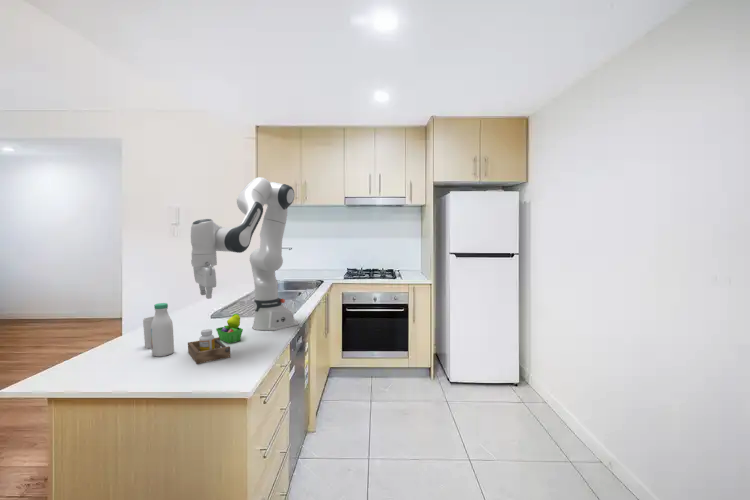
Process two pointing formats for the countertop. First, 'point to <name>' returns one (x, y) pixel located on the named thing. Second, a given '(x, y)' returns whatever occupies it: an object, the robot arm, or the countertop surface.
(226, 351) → the wooden bar rack
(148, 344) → the mug
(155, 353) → the milk bottle
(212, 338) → the supplement bottle
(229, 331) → the fruit basket
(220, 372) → the countertop surface
